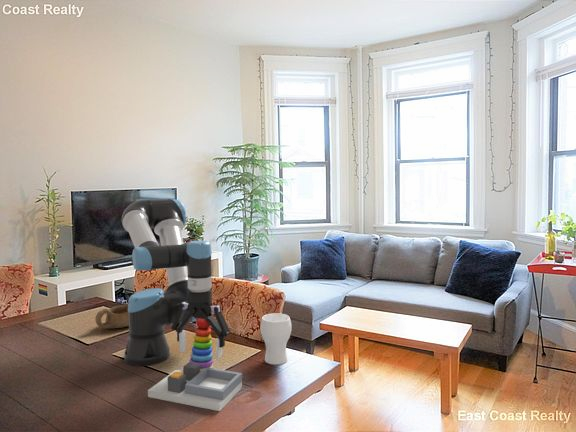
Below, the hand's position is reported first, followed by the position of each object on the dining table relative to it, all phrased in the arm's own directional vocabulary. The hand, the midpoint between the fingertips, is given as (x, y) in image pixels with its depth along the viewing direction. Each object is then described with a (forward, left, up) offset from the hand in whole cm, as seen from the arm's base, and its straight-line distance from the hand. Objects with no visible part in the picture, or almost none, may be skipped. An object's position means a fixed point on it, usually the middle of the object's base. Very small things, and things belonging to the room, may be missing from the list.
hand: (200, 354), depth 141 cm
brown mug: (-54, +25, -6) cm, 60 cm away
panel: (+6, -13, -6) cm, 15 cm away
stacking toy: (0, 0, -6) cm, 6 cm away
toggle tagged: (+2, -17, -4) cm, 17 cm away
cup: (+20, +16, -6) cm, 26 cm away
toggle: (+2, -9, -4) cm, 10 cm away
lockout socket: (+11, -12, -4) cm, 17 cm away
